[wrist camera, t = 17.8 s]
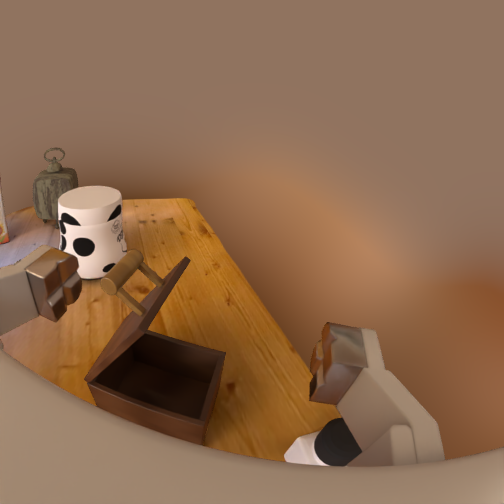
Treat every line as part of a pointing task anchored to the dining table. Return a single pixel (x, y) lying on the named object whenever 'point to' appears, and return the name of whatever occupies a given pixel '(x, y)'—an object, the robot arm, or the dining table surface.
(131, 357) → the chest
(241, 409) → the dining table surface
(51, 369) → the dining table surface
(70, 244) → the milk container
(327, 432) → the medicine bottle
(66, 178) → the tabletop clock
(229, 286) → the dining table surface
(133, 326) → the chest lid
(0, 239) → the cracker box
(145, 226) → the dining table surface
